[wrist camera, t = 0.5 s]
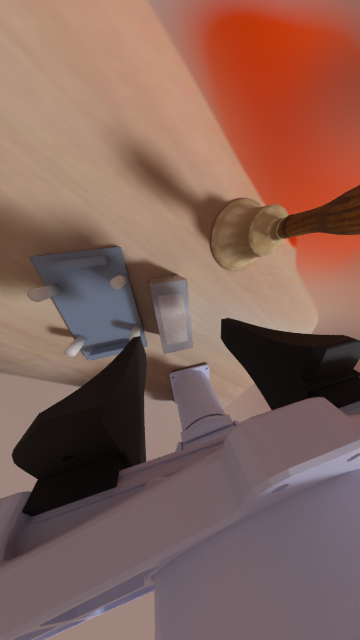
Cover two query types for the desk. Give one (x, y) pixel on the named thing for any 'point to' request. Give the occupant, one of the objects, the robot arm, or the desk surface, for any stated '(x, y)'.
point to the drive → (172, 312)
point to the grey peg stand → (91, 299)
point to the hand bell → (276, 227)
